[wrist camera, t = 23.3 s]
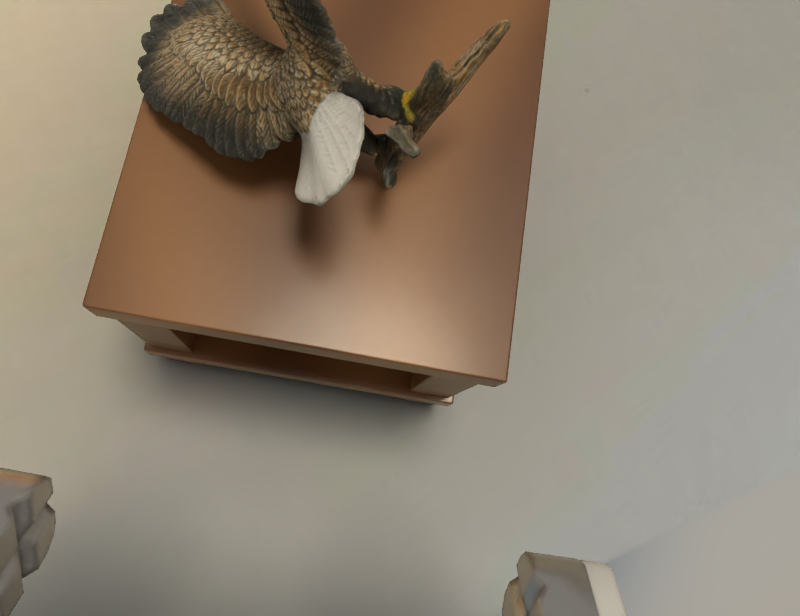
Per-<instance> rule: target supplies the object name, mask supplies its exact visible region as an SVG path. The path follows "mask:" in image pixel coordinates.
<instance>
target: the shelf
mask: <svg viewBox="0 0 800 616" xmlns="http://www.w3.org/2000/svg"><path fill="white" fill-rule="evenodd" d="M185 1H186V0H172V1H171V4H177V5H180V6H183V4H184V2H185ZM222 1H223V2H224V4H225V5H226V7H227V8H228V9H229V10H230V11H231V13H232V15H233V16H234V18H235V19H236V20H237V21H239V22H240V23H242V24H243V25H244V26H246V27H247V28H248V29H249V30H250V31H251V32H253V33H254V34H256V35H257V36H258V37H260V38H262V39H263V40H265V41H268V42H270V43H272V44H274V45H276V46H278V47H281V48H283V49H286V48H287V46H288V44H287V42H286V41H285V39H284V37H283V35H282V32H281V30H280V28H279V27H278V25H277V24H276V22H275V21H274V19H273V18H272V16H271V15H270V12H269V9H268V7H267V6H266V4H265V2H264V1H263V0H222ZM321 3H322V5H323V6H324V7H325V9H326V10H327V13H328V16H329V18H330V19H331V21H332V25H333V27H334V29H335V31H336V36H335V37H336V38H338V39H339V40H340V41H341V42H342V43H344V44H345V46H346V47H347V48H348V50H349V52H350V53H351V55H352V58H353V60H354V65H355V66H356V67H357V69H358V70H359V71H361V72H362V73H364V74H365V75H366V76H367V77H368V78H370V79H372V80H374V81H375V82H377V83H378V84H382V85H393V86H396V87H399V88H401V89H403V90H404V91H410V90H412V89H413V88H415V87H416V86H419V85H420V83H421V81H422V79H423V77H424V74H425V72H426V71H427V69H428V68H429V66H430V64H431V63H432V61H434V60H435V59H438V60H440V61H441V62H442V64H443V67H444V69H445V70H446V71H447V72H448V71H449V70H450V69H451V67H452V65H453V63H454V62H455V61H456V60H457V59H458V58H459V57H461V56H462V55H463V54H464V53H465V52H466V51H467V49H468V48H469V47H470V46H471V45H472V44H473V43H474V41H475V40H476V39H477V38H479V37H480V36H481V35H482V34H483V33H485V32H486V31H488V30H489V29H490V28H491V27H492V26H493V25H494V24H496V23H497V22H498V21H501V20H508V21H510V23H511V26H510V28H509V30H508V31H507V32H506V34H505V35H504V36H503V38H502V39H501V41H500V42H499V43H498V45H497V46H496V48H495V49H494V50H493V51H492V53H491V54H490V55H489V56H488V57H487V58H486V59H485V61H484V62H483V63H482V65H481V66H480V67H479V68H478V70H477V71H476V72H475V74H474V75H473V77H472V78H471V79H470V80H469V82H468V83H467V84H466V85H465V87H464V88H463V89H462V91H461V92H460V93H459V95H458V96H457V97H456V98H455V99H454V100H453V102H452V103H451V104H450V105H449V106H448V107H447V109H446V110H445V111H444V112H443V113H442V114H441V115H440V116H439V117H438V118H437V119H436V120H435V121H434V123H433V124H432V125H431V127H430V128H429V129H428V131H427V132H426V133H425V135H424V136H423V137H422V138H421V139H420V141H419V142H418V143H417V145H418V147H419V148H420V151H421V153H420V155H419V156H418V157H416V158H411V157H409V156H408V155H406V157H405V158H404V159H403V161H402V162H403V164H402V166H401V167H400V168H399V169H398V170H397V183H396V185H395V186H394V187H393V188H390V189H387V188H384V187H383V185H382V179H381V178H380V177H379V176H378V171H377V169H376V167H375V158H376V156H377V153H375V154H374V155H373V156H370V155H368V154H366V153H363V152H360V156H359V158H358V160H357V163H356V167H355V172H354V175H353V177H352V178H351V179H350V181H349V182H348V183H347V184H346V185H345V186H344V187H343V188H342V189H341V191H340V192H339V193H338V194H337V195H335V196H333V197H332V198H330V199H329V200H328V201H327V202H326V203H325V204H324V205H323V206H318V205H316V204H313V203H304V202H301V201H300V200H299V199H297V197H296V195H295V187H296V182H297V178H298V173H299V168H300V158H301V151H302V140H301V136H300V137H297V138H296V139H295V140H293V141H291V142H287V141H284V140H281V142H280V145H279V146H278V147H277V148H275V149H272V150H267V151H266V153H265V155H264V157H263V158H262V159H254V160H253V161H252V162H248V161H245V160H243V159H241V158H230V157H227V156H226V155H220V154H218V153H217V152H216V151H215V149H214V148H213V147H209V146H208V145H207V143H206V140H205V138H204V137H198V136H196V135H194V134H193V132H192V131H191V130H187V129H186V128H185V127H184V126H183V123H182V122H181V123H174V122H172V121H171V120H170V119H169V118H168V117H166V116H165V115H164V113H163V112H161V113H157V112H155V111H154V110H153V108H152V105H151V104H149V103H147V102H146V101H145V99H144V97H143V100H142V104H141V107H140V110H139V114H138V117H137V121H136V124H135V127H134V131H133V134H132V138H131V141H130V144H129V148H128V151H127V155H126V158H125V162H124V165H123V168H122V172H121V175H120V179H119V182H118V185H117V189H116V192H115V196H114V199H113V202H112V206H111V209H110V213H109V216H108V219H107V223H106V226H105V230H104V233H103V236H102V240H101V243H100V247H99V250H98V254H97V257H96V260H95V264H94V267H93V271H92V274H91V277H90V281H89V284H88V288H87V291H86V294H85V298H84V301H83V306H84V307H85V308H86V309H88V310H89V311H91V312H92V313H93V314H95V315H96V316H101V317H106V318H112V319H117V320H118V321H119V322H121V323H122V324H123V325H125V326H126V327H127V328H129V329H130V330H131V331H132V332H134V333H135V334H136V335H138V336H139V337H140V338H141V339H143V340H144V341H145V342H146V343H145V347H144V350H145V351H146V352H148V353H149V354H151V355H157V356H162V357H166V358H168V359H173V360H179V361H185V362H191V363H196V364H202V365H204V364H208V365H214V366H220V367H225V368H231V369H237V370H243V371H248V372H254V373H260V374H265V375H271V376H277V377H283V378H288V379H294V380H300V381H306V382H311V383H317V384H323V385H328V386H334V387H340V388H346V389H351V390H357V391H363V392H369V393H374V394H380V395H386V396H391V397H397V398H400V399H403V400H409V401H415V402H421V403H426V404H437V405H443V406H448V405H451V404H453V399H454V395H455V394H457V393H460V392H462V391H464V390H466V389H468V388H471V387H473V386H475V385H477V384H480V385H486V386H491V387H496V386H498V385H501V384H503V383H506V382H507V376H508V367H509V358H510V349H511V341H512V332H513V323H514V314H515V305H516V297H517V288H518V279H519V270H520V261H521V253H522V244H523V235H524V226H525V217H526V209H527V200H528V191H529V182H530V173H531V164H532V156H533V147H534V138H535V129H536V120H537V112H538V103H539V94H540V85H541V76H542V68H543V59H544V50H545V41H546V32H547V23H548V15H549V6H550V0H321ZM144 96H145V93H144ZM363 111H364V110H363ZM396 122H397V121H393V120H391V119H389V118H386V117H384V118H378V117H376V116H375V115H368V114H367V113H366V112H365V111H364V124H365V125H366V126H367V127H368V128H369V129H370V130H371V131H372V132H373V134H385V130H386V129H387V128H388V127H390V126H392V125H395V124H396Z"/></svg>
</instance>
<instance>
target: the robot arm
mask: <svg viewBox="0 0 800 616" xmlns="http://www.w3.org/2000/svg"><path fill="white" fill-rule="evenodd" d="M52 494H53V487H52V479H51V478H50V477H47V476H42V475H37V474H32V473H26V472H21V471H15V470H10V469H5V468H0V616H10V614H11V612H12V611H13V609H14V608H15V606H16V604H17V603H18V601H19V599H20V598H21V596H22V595H23V593H24V592H23V583H22V578H24V577H26V576H27V575H29V574H30V573H32V572H34V571H35V570H37V569H38V568H39V566H40V565H41V563H42V561H43V560H44V558H45V556H46V554H47V552H48V550H49V547H50V544H51V542H52V539H53V536H54V530H55V523H56V520H55V511H54V510H53V509H52V508H51V507H50V506H49V505H48V504H47V501H48V500H49V498H50V497H51V495H52ZM517 571H518V577H517V578H515V579H513V580H512V581H510V582H509V584H508V587H507V589H506V592H505V595H504V601H503V607H502V616H627V613H626V610H625V607H624V604H623V601H622V598H621V595H620V592H619V589H618V586H617V582H616V579H615V577H614V574H613V570H612V569H611V567H610V566H609V565H608V564H604V563H597V562H591V561H584V560H578V559H573V558H567V557H560V556H553V555H546V554H539V553H532V552H524V553H523V554H522V555H521V557H520V559H519V561H518V563H517Z"/></svg>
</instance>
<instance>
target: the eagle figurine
mask: <svg viewBox="0 0 800 616" xmlns="http://www.w3.org/2000/svg"><path fill="white" fill-rule="evenodd" d="M263 1H264V2H265V4H266V6H267V7H268V9H269V12H270V15H271V16H272V18H273V19H274V21H275V22H276V24H277V25H278V27H279V28H280V30H281V32H282V35H283V37H284V39H285V41H286V42H287V44H288V46H287V48H286V49H283V48H281V47H278V46H276V45H274V44H272V43H270V42H268V41H265V40H263V39H262V38H260V37H258V36H257V35H256V34H254V33H253V32H251V31H250V30H249V29H248V28H247V27H246V26H244V25H243V24H242V23H240V22H239V21H237V20H236V19H235V18H234V16H233V15H232V13H231V11H230V10H229V9H228V8H227V7H226V5H225V4H224V2H223V1H222V0H186V1H185V2H184V4H183V6H180V5H177V4H168V5H166V6H165V8H164V12H163V14H161V15H159V14H157V15H154V16H153V17H152V18H151V20H150V27H151V31H150V32H147V33H145V34H143V35H142V39H141V43H142V46H143V48H144V50H145V51H146V52H147V54H146V55H144V56H142V57H140V58H139V60H138V65H139V66H140V68H141V69H142V71H141V72H140V73H139V74H138V78H137V80H138V82H139V84H140V89H141V91H142V92H143V93H145V96H144V99H145V101H146V102H147V103H149V104H151V105H152V108H153V110H154V111H155V112H157V113H161V112H163V113H164V115H165V116H166V117H168V118H169V119H170V120H171V121H172V122H174V123H181V122H182V123H183V126H184V127H185V128H186V129H187V130H191V131H192V132H193V134H194V135H196V136H198V137H204V138H205V140H206V143H207V145H208V146H209V147H213V148H214V149H215V151H216V152H217V153H218V154H220V155H226V156H227V157H230V158H241V159H243V160H245V161H248V162H252V161H253V160H254V159H262V158H263V157H264V155H265V153H266V151H267V150H272V149H275V148H277V147H278V146H279V145H280V142H281V140H284V141H287V142H291V141H293V140H295V139H296V138H297V137H300V136H301V140H302V151H301V158H300V168H299V173H298V178H297V182H296V187H295V195H296V197H297V199H299V200H300V201H301V202H304V203H313V204H316V205H318V206H323V205H324V204H325V203H326V202H327V201H328V200H329V199H330V198H332V197H333V196H335V195H337V194H338V193H339V192H340V191H341V189H342V188H343V187H344V186H345V185H346V184H347V183H348V182H349V181H350V179H351V178H352V177H353V175H354V172H355V167H356V163H357V160H358V158H359V156H360V152H363V153H366V154H368V155H370V156H373V155H374V154H375V153H377V156H376V158H375V167H376V169H377V171H378V176H379V177H380V178H381V179H382V185H383V187H384V188H387V189H390V188H393V187H394V186H395V185H396V183H397V170H398V169H399V168H400V167H401V166H402V164H403V162H402V161H403V159H404V158H405V157H406V155H408V156H409V157H411V158H416V157H418V156H419V155H420V153H421V151H420V148H419V147H418V145H417V143H418V142H419V141H420V139H421V138H422V137H423V136H424V135H425V133H426V132H427V131H428V129H429V128H430V127H431V125H432V124H433V123H434V121H435V120H436V119H437V118H438V117H439V116H440V115H441V114H442V113H443V112H444V111H445V110H446V109H447V107H448V106H449V105H450V104H451V103H452V102H453V100H454V99H455V98H456V97H457V96H458V95H459V93H460V92H461V91H462V89H463V88H464V87H465V85H466V84H467V83H468V82H469V80H470V79H471V78H472V77H473V75H474V74H475V72H476V71H477V70H478V68H479V67H480V66H481V65H482V63H483V62H484V61H485V59H486V58H487V57H488V56H489V55H490V54H491V53H492V51H493V50H494V49H495V48H496V46H497V45H498V43H499V42H500V41H501V39H502V38H503V36H504V35H505V34H506V32H507V31H508V30H509V28H510V26H511V23H510V21H508V20H501V21H498V22H497V23H496V24H494V25H493V26H492V27H491V28H490V29H489V30H488V31H486V32H485V33H483V34H482V35H481V36H480V37H479V38H477V39H476V40H475V41H474V43H473V44H472V45H471V46H470V47H469V48H468V49H467V51H466V52H465V53H464V54H463V55H462V56H461V57H459V58H458V59H457V60H456V61H455V62H454V63H453V65H452V67H451V69H450V70H449V71H448V72H447V71H446V70H445V69H444V67H443V64H442V62H441V61H440V60H438V59H435V60H434V61H432V63H431V64H430V66H429V68H428V69H427V71H426V72H425V74H424V77H423V79H422V81H421V83H420V85H419V86H416V87H415V88H413V89H412V90H410V91H404V90H403V89H401V88H399V87H396V86H393V85H382V84H378V83H377V82H375V81H374V80H372V79H370V78H368V77H367V76H366V75H365V74H364V73H362V72H361V71H359V70H358V69H357V67H356V66H355V65H354V60H353V58H352V55H351V53H350V52H349V50H348V48H347V47H346V46H345V44H344V43H342V42H341V41H340V40H339V39H338V38H336V37H335V36H336V31H335V29H334V27H333V25H332V21H331V19H330V18H329V16H328V13H327V10H326V9H325V7H324V6H323V5H322V3H321V0H263ZM363 110H364V111H365V112H366V113H367V114H368V115H375V116H376V117H378V118H384V117H386V118H389V119H391V120H393V121H397V122H396V124H395V125H392V126H390V127H388V128H387V129H386V130H385V134H373V132H372V131H371V130H370V129H369V128H368V127H367V126H366V125H365V124H364V111H363Z"/></svg>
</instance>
